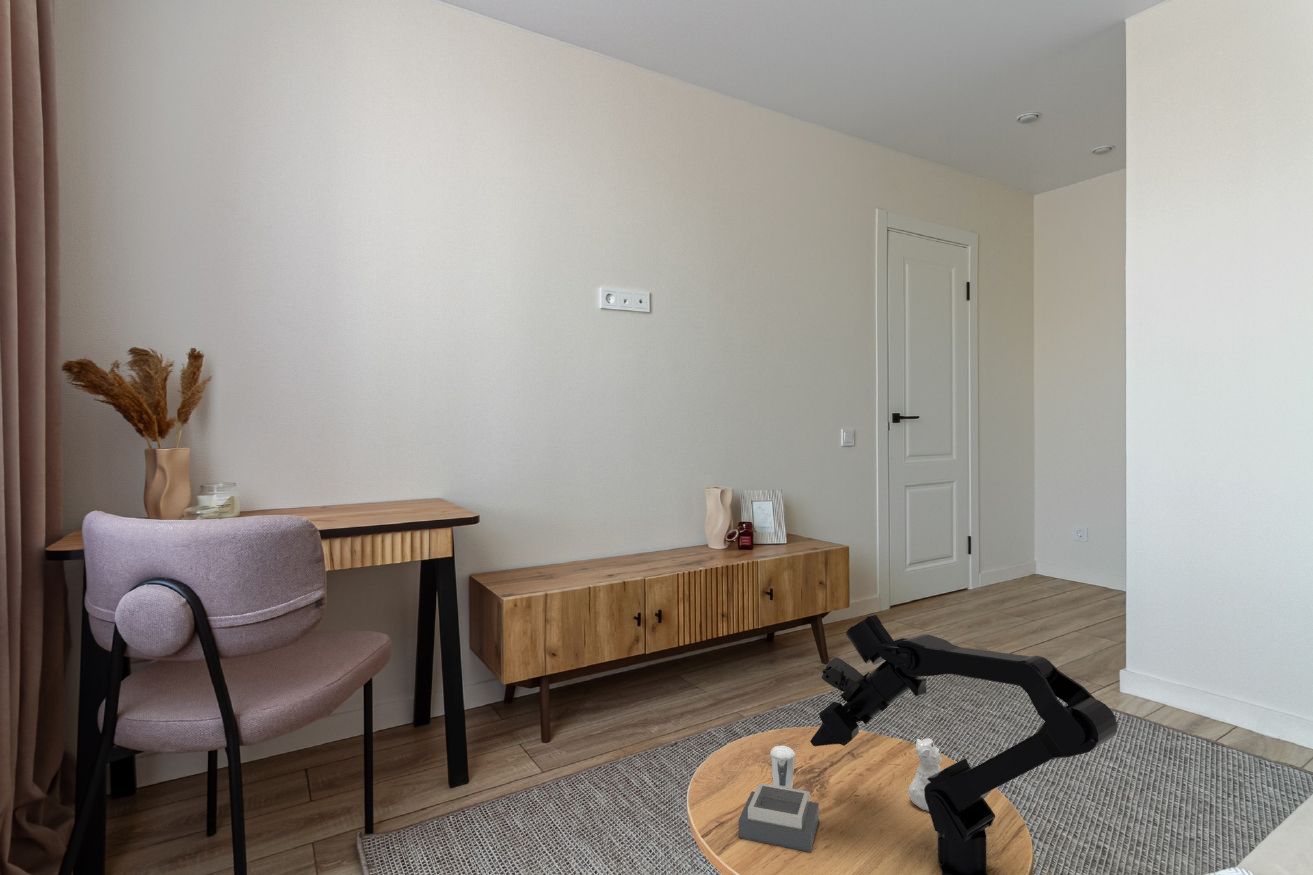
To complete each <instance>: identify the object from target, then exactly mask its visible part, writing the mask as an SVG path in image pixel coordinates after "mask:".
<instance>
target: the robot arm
mask: <svg viewBox="0 0 1313 875" xmlns="http://www.w3.org/2000/svg"><path fill="white" fill-rule="evenodd" d="M845 636H846V638H847V639H848V640H849V642H850V643H851V645H852V646H853V648H854V649H855V650H856V652H857V654H858V655H859V656H860V657H861V659H862V661H863V662H864V663H865V664H866V665H867V664H868V663H870V662H871V664H872V665H873V666H875V665H878V664H880V663H881V662H882V663H881V664H880V665H878V666H877V667H876V668H875V669H873V671H871V672H869V671H868V672H867V673H865V674H864V675H863V674H862V673H861V672H859V671H858V670H857V669H856V668H855V667H853V665H851V664H850V663H847V662H846V661H845V660H843V659H841V658H839V657H834V658H832V659H831V660H829V661H828V662H827V664H826V666H825V668H824V669H823V670H822V671H821V673H822V675H821V679H822V680H823V681H824V682H825V683H827V684H828V685H830V686H831V687H833V688H834V689H837V690H839V691H841V692H843V693H841V694H840V697H841V698H842V700H843V701H844V702H845V704H842V703H841V702H838V701H832V702H831V703H830V704H829V705H827V706H826V707H824V708H823V710H821V711H820V712H819V713H818V716H819V718H820V720H821V725H820V726H819V728H818V729H817V731H816V732H814V735H812V738H811V739H810V744H811V746H813V747H821V746H833V745H841V746H844V747H845V746H846V745H848V744H849V743H850V742H851V741H853V740H854V739H855V738H856V736H858V735H859V730H860V729H859V727H860V725H859V724H858V723H859V722H863V724H864V725H866V724H868V723H869V722H870V721H871V720H872V719H874V717H875V716H877V715H878V714H880V713H881V712H883V711H885V710H886V709H887V708H888V707H889V706H890V705H891V704H892V703H894V702H895V701H896V700H898V699H899V698H901V696H902V695H904V694H905V693H906V692H908V691H909V690H910V691H911V692H912V694H913V695H914V696H915V697H920V696H922V695H923V696H924V695H926V694H927V682H928V681H927V678H924V677H934V676H941V675H943V676H944V675H954V676H959V677H966V678H971V679H972V678H973V679H977V680H984V681H989V682H995V683H1001V684H1007V685H1013V686H1020V688H1021V689H1022V690H1023V691H1025V693H1026V694H1027V695H1028V697H1029V700H1030V701H1031V703H1032V706H1033V707H1034V709H1035V710H1036V712H1037V715H1038V716H1039V717H1040V718H1041V719H1042V720H1043V721H1044V722H1043V723H1042V724H1041V726H1039V728H1038V730H1036V732H1035V733H1034V734H1033V735H1031V736H1029V737H1028V738H1026V739H1024V740H1021V741H1020V742H1018V743H1016V744H1014V745H1013V746H1011V747H1009V748H1007V749H1006V750H1004V751H1002V752H1000V753H998V754H997V755H994V756H993V757H991V758H990V759H987V760H985V761H984V762H982V763H979V764H978V765H975V766H974V765H973V766H970V764H969V761H968V760H967V758H962V759H961V760H959V761H957V762H955V763H952V764H951V765H949V766H947V767H945V768H944V769H941V771H940V772H938V773H936V774H934V775H932V776H930V777H929V778H927V779H928V780H929V781H930V783H928V784H927V785H926V786H925V788H924V792H925V794H924V796H925V800H926V803H927V805H928V809H929V811H928V812H929V815H930V818H931V822H932V825H933V828H934V831H935V832H937V863H938V864H939V865H941V867H940V868H941V875H988V868H987V865H988V864H987V834H986V829H987V828H989V827H992V826H993V823H994V821H995V819H996V814H995V812H994V811H993V809H992V808H991V807H990V805H989V804H988V803H987V801H986V800H985V798H986V797H987V796H988V795H989V794H990V793H991V792H992V791H993V790H994V789H997V788H998V787H1001V786H1002V785H1004V784H1006V783H1008V782H1010V781H1012V780H1014V779H1016V778H1018V777H1020V776H1022V775H1024V774H1026V773H1028V772H1030V771H1032V770H1034V769H1036V768H1038V767H1040V766H1041V765H1043V764H1045V763H1047V762H1049V761H1051V760H1054V759H1055V760H1056V759H1066V758H1067V759H1068V758H1071V757H1075V756H1079V755H1083V754H1088V753H1090V752H1092V751H1093V750H1095V749H1097V748H1098V747H1099V746H1102V745H1103V744H1105V743H1106V742H1108V741H1109V740H1111V739H1113V737H1115V736H1116V734H1117V732H1118V720H1117V719H1116V716H1115V714H1114V712H1113V711H1112V709H1111V708H1109V707H1108V705H1106V704H1105V703H1104V702H1102V701H1101V700H1099V699H1097V698H1095V697H1094V696H1093V695H1092V694H1091V692H1089V691H1088V690H1087V689H1086V688H1085V687H1084V686H1083V685H1081V684H1080V683H1079V682H1078V681H1075V680H1074V679H1072V677H1069V676H1067V675H1066V674H1064V673H1063V672H1062V671H1060V670H1059V669H1058V668H1057V667H1056V666H1055V665H1054V664H1053V663H1052V662H1051V661H1049V660H1048V659H1047V658H1046V657H1043V656H1040V655H1022V654H1014V653H1008V652H999V651H993V650H986V649H985V650H984V649H978V648H970V647H962V646H958V645H955V644H953V643H951V642H950V641H948V640H946V639H944V638H941V637H938V636H934V635H931V634H920V635H917V636H914V637H911V638H908V637H907V638H906V637H902V638H898V639H895V640H894V639H893V636H891V635H890V633H889V632H888V630H887V629H886V628H885V627H884V625H883V624H882V622H881V619H880V618H879V617H878V615H877V614H873V615H872V614H871V615H868V616H867V617H866V618H864V619H863V620H861V621H859V622H858V623H856V624H855V625H853V626H851V627H849V628H848V629H847V630H846V632H845ZM1060 700H1061V701H1063V702H1064V703H1066V705H1064V704H1063V703H1062V702H1061V701H1060Z"/></svg>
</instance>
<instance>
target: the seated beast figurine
mask: <svg viewBox="0 0 1313 875" xmlns="http://www.w3.org/2000/svg"><path fill="white" fill-rule="evenodd" d="M915 748H916V749H915V752H916V755H917V758H918V759H919V762H920V764H919V765H918V767H917V768H916V773H915V774H914V775H915V776H914V777H913V779H912V780H911V783H910V785H909V786H908V791H907V792H908V795H909V798H910V800H911V802H912V803H913V804H914V805H915V806H917V807H918V808H920V810H922V811H926V812H929V809H928V805H927V803H926V800H925V796H924V794H925V792H924V788H925V786H926V785H927V784H928V783H930V781H929V780H928V779H927V778H929V777H930V776H932V775H934V774H936V773H938V772H940V771H942V769H941V765H940V764H939V763H942V762H943V758H942V757H941V753H940V748H938V747H937V746H935V743H934V740H933V739H931V738H930V737H928V738H927V737H925V738H923V739H920V738H917V739H916V743H915Z"/></svg>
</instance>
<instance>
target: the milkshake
mask: <svg viewBox="0 0 1313 875" xmlns="http://www.w3.org/2000/svg"><path fill="white" fill-rule="evenodd" d="M799 747H800V744H798V745H797V747H796V750H795V751H794V750H793V749H792V748H791V747H789V746H786V745H776V746H773V747H772V748H771V749H770V763H771V774H772V785H774V786H779V787H785V788H791V789H793V784H794V783H793V782H794V769H795V761H796V760H795V757H796V753H797V751H798V749H799Z"/></svg>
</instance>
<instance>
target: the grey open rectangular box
mask: <svg viewBox="0 0 1313 875" xmlns="http://www.w3.org/2000/svg"><path fill="white" fill-rule="evenodd" d="M810 794H811V792H810V791H807V790H801V789H796V788H792V789H791V788H785V787H779V786H774V785H773V784H767V783H762V782H761V783H760V782H759V783H758V784H757V787H756V789H755V791H754V790H753V791H751V792H750V794H749V795H748V799H747V801H746V803H745V805H744V807H743V809H742V811H741V814H740V815H739V818H738V838H739V839H743V840H748V841H752V842H753V841H754V842H759V843H764V844H769V845H771V846H772V845H773V846H777V847H781V848H782V847H783V848H788V849H791V850H792V849H793V850H798V851H803V852H808V853H811V852H812V849H813V845H814V840H815V837H816V833H817V828H818V825H819V820H820V816H819V814H820V811H819V809H820V807H819V806H820V805H819V802H816V801H815V802H814V801H810V798H811V797H810Z"/></svg>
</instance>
